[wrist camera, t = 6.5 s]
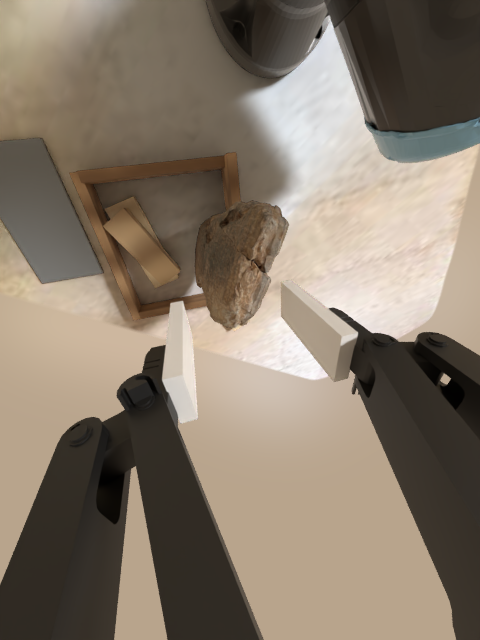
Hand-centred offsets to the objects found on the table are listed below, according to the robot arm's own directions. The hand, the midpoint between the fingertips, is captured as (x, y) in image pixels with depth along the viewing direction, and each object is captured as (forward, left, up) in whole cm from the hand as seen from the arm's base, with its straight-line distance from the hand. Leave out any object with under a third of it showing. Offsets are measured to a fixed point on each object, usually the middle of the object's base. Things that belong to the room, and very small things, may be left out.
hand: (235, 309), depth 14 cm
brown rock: (0, 0, -26) cm, 26 cm away
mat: (-6, -22, -26) cm, 34 cm away
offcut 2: (0, -9, -24) cm, 26 cm away
